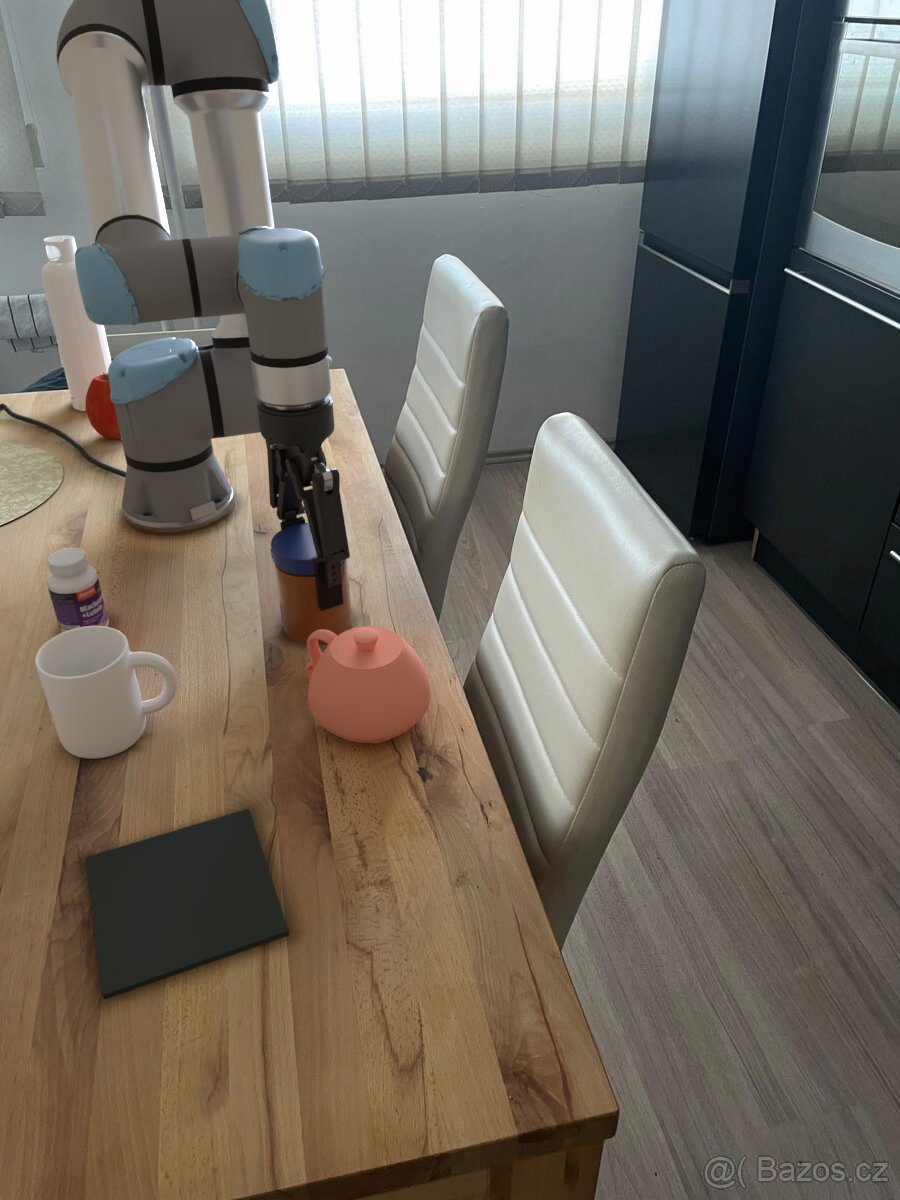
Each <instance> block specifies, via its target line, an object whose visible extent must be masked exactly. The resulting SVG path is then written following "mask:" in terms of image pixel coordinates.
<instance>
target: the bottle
mask: <svg viewBox="0 0 900 1200" xmlns="http://www.w3.org/2000/svg"><path fill="white" fill-rule="evenodd" d="M76 243H77V242H76V239H75V236H73V235H67V234H66V235H61V234H60V235H53V236H52V235H51V236H48V237H45V238H43V244H44V249H45V252H46V257H47V260H48V262H46V263H45V264H44V265H43V266H42V268H41V270H40V278H41V282H42V285H43V290H44V294H45V298H46V302H47V306H48V310H49V314H50V319H51V323H52V326H53V330H54V335H55V339H56V343H57V348H58V351H59V355H60V360H61V363H62V367H63V371H64V376H65V380H66V383H67V388H68V392H69V395H70V400H71V404H72V408H74V409H75V410H77V411H80V412H86V410H85V408H86V394H87V391H88V388H89V385H90V383H91V381H92V380H93V379H94V378H95V377H97V376H100V375H104V374H108V369H109V366H110V364H111V362H112V357H111V353H110V352H111V351H110V348H109V343H108V339H107V333H106V328H105V325H98V324H95V323H93V322H92V321H91V320H90V319H89V318H88V316H87V314H86V311H85V308H84V305H83V301H82V297H81V292H80V288H79V283H78V278H77V273H76V266H75V252H76V250H77V249H78V248H77V244H76ZM103 372H104V374H103Z"/></svg>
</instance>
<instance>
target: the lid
mask: <svg viewBox="0 0 900 1200" xmlns="http://www.w3.org/2000/svg"><path fill="white" fill-rule="evenodd" d="M270 554H271V559H272V561H273V565H274V566H275V565H276V566H277V567H278V568H279V569H281V570H283V571H285V572H288V573H292V574H298V575H313V574H315V570H314V564H313V563H312V561H311V558H313V557H316V556H317V554H316V550H315V546H314V542H313V538H312V535H311V531H310V527H309V523H308V522H305V523H300V524H296V525H292V526H289V527H287V528H284V529H283V530H281V529H280V530H279V531H278V532H277V533H275V535H274V536H273V537H272V538H271V540H270ZM345 560H346V559H345ZM345 560H341V561H340V565H341V564H342V563H343V562H344V561H345Z"/></svg>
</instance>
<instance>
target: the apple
mask: <svg viewBox="0 0 900 1200" xmlns="http://www.w3.org/2000/svg"><path fill="white" fill-rule="evenodd" d="M103 374H104V372H103ZM110 394H111V389H110V383H109V376H108V374H104V375H100V376H97V377H95V378H94V379H93V380H92V381H91V383H90V385H89V388H88V391H87V394H86V400H85V402H86V408H85V410H86V411H85V412H86V416H87V419H88V420H89V423H90V425H91V427H92V428H93V430H94V431H95V432H96V433H97V434H99V435H100V436H101V437H103V438H104V439H108V440H121V435H120V430H119V425H118V420H117V416H116V411H115V406H114V403H113V402H112V401H111V398H110Z"/></svg>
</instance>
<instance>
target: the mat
mask: <svg viewBox="0 0 900 1200" xmlns="http://www.w3.org/2000/svg"><path fill="white" fill-rule="evenodd" d="M265 858H266V857H265V855H264V852H263V848H262V845H261V842H260V839H259V837H258V834H257V830H256V827H255V824H254V821H253V819H252V815H251V811H250V809H249V808H245V809H242V810H238V811H235V812H232V813H229V814H226V815H222V816H218V817H216V818H211V819H208V820H205V821H202V822H198V823H195V824H192V825H188V826H185V827H182V828H178V829H175V830H171V831H169V832H165V833H162V834H158V835H155V836H152V837H147V838H145V839H142V840H138V841H135V842H131V843H129V844H125V845H122V846H118V847H115V848H111V849H109V850H108V849H107V850H105V851H101V852H98V853H95V854H91V855H88V856H85V864H86V865H85V866H86V873H87V882H88V889H89V899H90V907H91V914H92V922H93V932H94V938H95V946H96V947H95V948H96V955H97V962H98V971H99V976H100V977H99V979H100V986H101V995H102V998H103V1000H108V999H110V998H113V997H116V996H120V995H122V994H124V993H128V992H131V991H133V990H136V989H138V988H142V987H145V986H147V985H151V984H153V983H156V982H159V981H163V980H165V979H167V978H170V977H173V976H176V975H180V974H182V973H185V972H187V971H191V970H194V969H197V968H199V967H202V966H205V965H208V964H210V963H213V962H217V961H220V960H222V959H225V958H229V957H231V956H233V955H236V954H239V953H242V952H245V951H248V950H251V949H254V948H257V947H259V946H262V945H266V944H268V943H271V942H274V941H277V940H280V939H283V938H286V937H288V936H290V931H289V928H288V924H287V922H286V919H285V915H284V912H283V910H282V906H281V904H280V900H279V897H278V894H277V891H276V889H275V885H274V881H273V879H272V876H271V873H270V870H269V867H268V864H267V861H266V859H265Z"/></svg>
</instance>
